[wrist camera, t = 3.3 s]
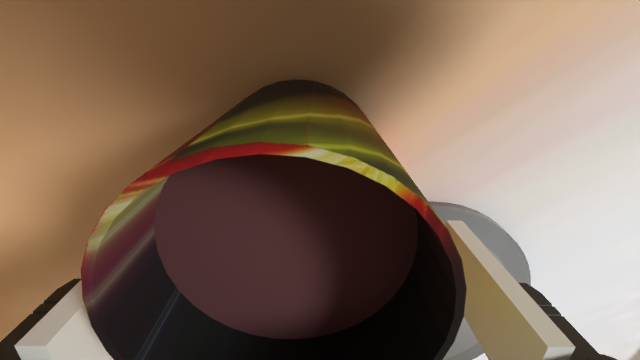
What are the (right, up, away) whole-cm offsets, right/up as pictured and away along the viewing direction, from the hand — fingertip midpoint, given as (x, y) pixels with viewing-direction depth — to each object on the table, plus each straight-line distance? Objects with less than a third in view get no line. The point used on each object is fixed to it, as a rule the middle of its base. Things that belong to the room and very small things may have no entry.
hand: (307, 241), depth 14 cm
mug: (0, +3, +5) cm, 6 cm away
